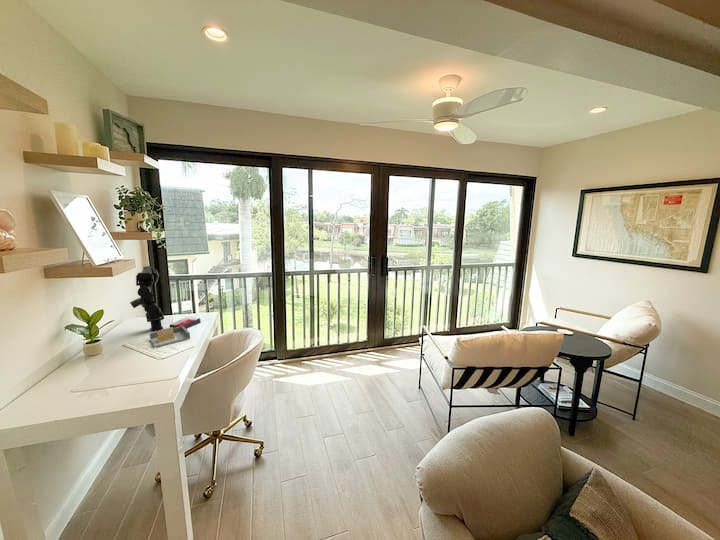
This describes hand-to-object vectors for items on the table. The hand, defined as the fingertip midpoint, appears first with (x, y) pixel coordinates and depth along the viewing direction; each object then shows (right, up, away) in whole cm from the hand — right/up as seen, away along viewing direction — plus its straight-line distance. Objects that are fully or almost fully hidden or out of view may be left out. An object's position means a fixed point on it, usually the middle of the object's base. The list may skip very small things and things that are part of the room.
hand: (150, 317), depth 177 cm
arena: (+12, -13, 0) cm, 18 cm away
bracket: (+12, -13, -3) cm, 18 cm away
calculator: (+8, -10, +22) cm, 25 cm away
